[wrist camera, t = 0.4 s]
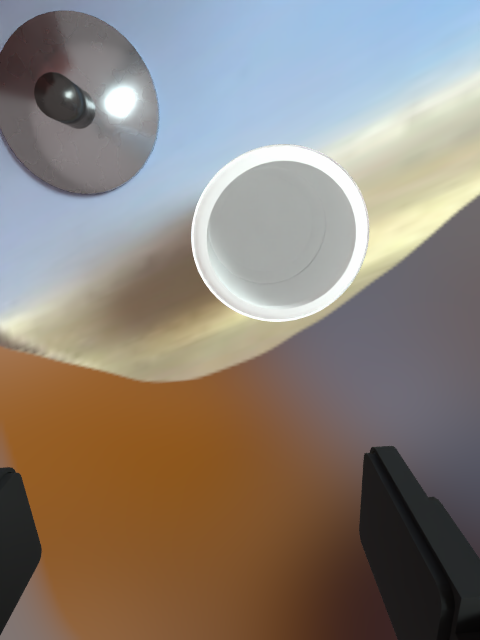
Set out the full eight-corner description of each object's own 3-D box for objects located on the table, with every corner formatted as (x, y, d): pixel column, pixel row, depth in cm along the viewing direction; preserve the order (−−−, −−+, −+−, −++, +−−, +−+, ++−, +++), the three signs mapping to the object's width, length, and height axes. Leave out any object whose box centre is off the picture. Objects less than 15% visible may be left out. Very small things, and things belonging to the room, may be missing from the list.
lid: (73, -27, 30) (43, -69, 25) (192, 120, 33) (185, 107, 29) (-33, 101, 33) (-79, 84, 28) (87, 225, 36) (65, 229, 31)
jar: (214, 280, 38) (202, 331, 23) (200, 172, 34) (178, 153, 20) (318, 270, 38) (370, 314, 23) (314, 160, 34) (373, 132, 20)
